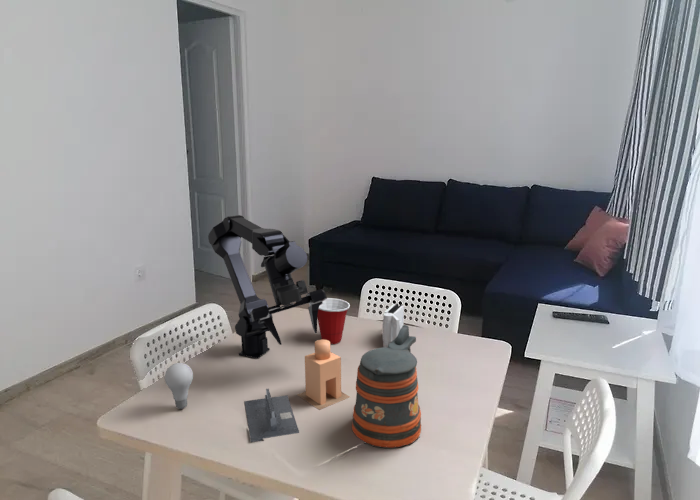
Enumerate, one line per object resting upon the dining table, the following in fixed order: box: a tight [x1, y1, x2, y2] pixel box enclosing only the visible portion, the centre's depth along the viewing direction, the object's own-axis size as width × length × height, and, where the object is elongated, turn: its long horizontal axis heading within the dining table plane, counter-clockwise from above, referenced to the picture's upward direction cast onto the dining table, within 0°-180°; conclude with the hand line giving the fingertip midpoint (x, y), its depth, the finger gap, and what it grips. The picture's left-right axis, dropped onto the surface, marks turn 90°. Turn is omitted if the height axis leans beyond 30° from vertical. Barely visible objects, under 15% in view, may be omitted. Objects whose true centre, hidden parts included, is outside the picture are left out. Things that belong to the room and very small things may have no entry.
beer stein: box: [351, 324, 422, 449], centre depth 112 cm, size 19×15×20 cm
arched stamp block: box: [304, 339, 342, 405], centre depth 123 cm, size 6×6×14 cm
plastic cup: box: [317, 297, 351, 345], centre depth 156 cm, size 11×11×12 cm
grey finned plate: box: [244, 388, 300, 443], centre depth 115 cm, size 16×10×5 cm, turn 15°
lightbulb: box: [164, 362, 194, 410], centre depth 119 cm, size 6×6×11 cm
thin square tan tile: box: [297, 390, 351, 411], centre depth 125 cm, size 9×9×1 cm
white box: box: [382, 303, 405, 348], centre depth 154 cm, size 14×5×10 cm, turn 168°
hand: (298, 338), depth 130 cm, fingers open, 9 cm apart
